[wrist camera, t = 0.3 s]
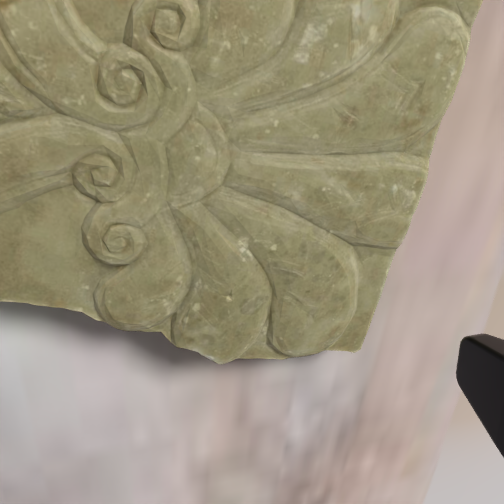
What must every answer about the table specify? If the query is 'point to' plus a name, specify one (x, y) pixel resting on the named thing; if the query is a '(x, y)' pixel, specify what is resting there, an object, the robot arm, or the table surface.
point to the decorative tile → (219, 161)
